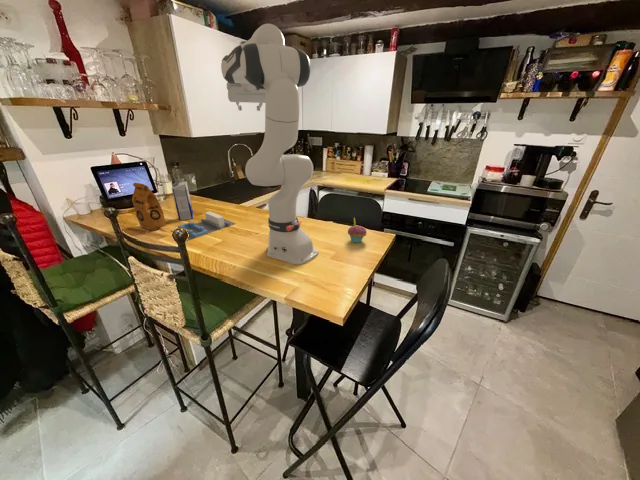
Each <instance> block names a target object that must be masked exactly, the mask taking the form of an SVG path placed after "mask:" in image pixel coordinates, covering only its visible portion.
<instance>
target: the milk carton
mask: <svg viewBox="0 0 640 480" xmlns="http://www.w3.org/2000/svg"><path fill="white" fill-rule="evenodd" d="M171 192H172V196H173V199H174V200H173V201H174V204H175V209H176V213H177V216H178V217H177V218H178V221H185V220H186V221H187V220H193V219H194V210H193V206H192V200H191V196H190V191H189V186H188V182H187V181H182V182H174V183H172V187H171Z"/></svg>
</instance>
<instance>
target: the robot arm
mask: <svg viewBox="0 0 640 480" xmlns="http://www.w3.org/2000/svg"><path fill="white" fill-rule="evenodd" d="M220 64H221V65H220V69H221V70H220V71H221V74H222V78H223V79H224V80H225V81H226V89H227V98H228V99H227V100H229V102H231V103H235V104H236V106H237V109H238V111H242V109H243V108H242V105H240V103H253V104H255V103H257V104H258V105H257V106H256V111H257V112H260V111H261V108H262V106H263V104H265V111H264V113H265V114H264V117H265V119H264V120H265V121H264V124H265V125H264V137H263V141H262V144H261V146H260V148H259V149H258V150H257V152H256V153H255V154H254V155H253V156H252V157H251V158H249V159H248V160H247V161H246V164H245V168H244V169H245V170H244V171H245V172H244V173H245V177H246V178H247V180H248V182H249V183H251V185H254V186H261V187H273V186H281V187H280V189H279V190H278V191H277V192H276V193H273V194H272V195H271V196H270V198H269V199H268V202H267V205H268V206H267V207H268V216H269V217H268V221H267V222H268V228H269V234H268V246H267V252H266V256H267V257H269V258H272V259H276V260H279V261H282V262H285V263H290V264H293V265H296V266H297V265H303V264H306V263H308V262H309V261H311V260H314V258H316V257H317V256H318V255H319V250H318V249H317V248H315V247H313V245H314V244H313V240H312V238H311V237H310V235H309V234H308V233H306V232H305V231H304V230H303V229H302V228H301V225H302V221H299V219H298V216H297V205H298V204H297V202H298V197H299V194H300V192H301V190H302V188H303V187H304V186H305V184H307V182H309V181H311V179H312V177H313V173H314V163H313V162H312V160H311V158H310V157H309V156H307V155H303V154H297V153H294V154H284V153H285V152H287V151H288V150H289V149H291V148H292V147H294V146H295V145H296V143H297V141H298V139H299V138H298V136H299V125H300V122H299V121H300V94H299V88H300V87H304V86H305V85H307V83H308V82H309V79H310V76H311V61H310V58H309V56H308V55H307V53H306V52H305V51H303V50H302V49H300V48H298V47H296V45H294V44H293V45H292V46H288V45H286V44H285V37H284V34H283V33H282V31H281V29H279V27H278V26H276V25H275V24H272V23H264V24H262V25H260V26H259V27H258V28H257V29H255V31H254V32H253V34H252V36H251V38H249V39H248V40H247V41H246V40H244V41H240V42H239V44H238V45H237V46H236V47H234V48H233V50H232V51H230V53H229V54H228V55H227V54H226V55H225V56H224V57H223V58H222V60H221V63H220Z"/></svg>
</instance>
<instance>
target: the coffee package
mask: <svg viewBox="0 0 640 480" xmlns="http://www.w3.org/2000/svg"><path fill="white" fill-rule="evenodd" d="M132 186H133V187H134V190H133V193H132V197H131V201H132V205H133V208H134V211H135V215H136V216H135V217H136V218H137V221H138V223H139V226H140V227H142V228H145V229H146V230H149V231H153V232H154V231H158V230H161V229H162V228H163V227H165V226H167V224H166V219H165V215H164V211H163V209H162V207H161V204H160V201H159V200H158V198H157V196H156V195H155V194H154V193H153V191H152V190H151V189H150V188H149V186H148V185H147V184H144V183H139V182H133V184H132Z"/></svg>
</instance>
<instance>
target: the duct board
mask: <svg viewBox="0 0 640 480" xmlns="http://www.w3.org/2000/svg"><path fill="white" fill-rule="evenodd" d="M224 223H225V226H223V227H220V226H218V225H216V224H214V223H211V222H209V221H207V220H206V218H205V219H204V218H200V222H199V221H198V222H197V223H196V222H194V221H190V222H186V223H184V224H180V225H177V229H178V228H183V229H185V230H187V232H188V234H189V237H188V240H186V242H188V241H191V240H193V239H197V238H199V237H202V236H205V235H208V234H211V233H215V232H218V231H219V230H223V229H226V228H228V227H232V226H234V225H237V223H235V222H233V221H231V220H229V219H225V218H224ZM170 232H171V233H172V232H173V230H170Z"/></svg>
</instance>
